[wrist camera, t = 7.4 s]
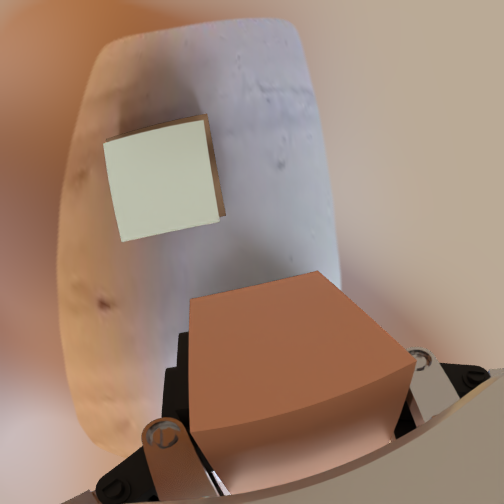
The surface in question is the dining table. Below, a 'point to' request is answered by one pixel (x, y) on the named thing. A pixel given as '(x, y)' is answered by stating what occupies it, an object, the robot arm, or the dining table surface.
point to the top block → (161, 181)
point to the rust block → (290, 381)
